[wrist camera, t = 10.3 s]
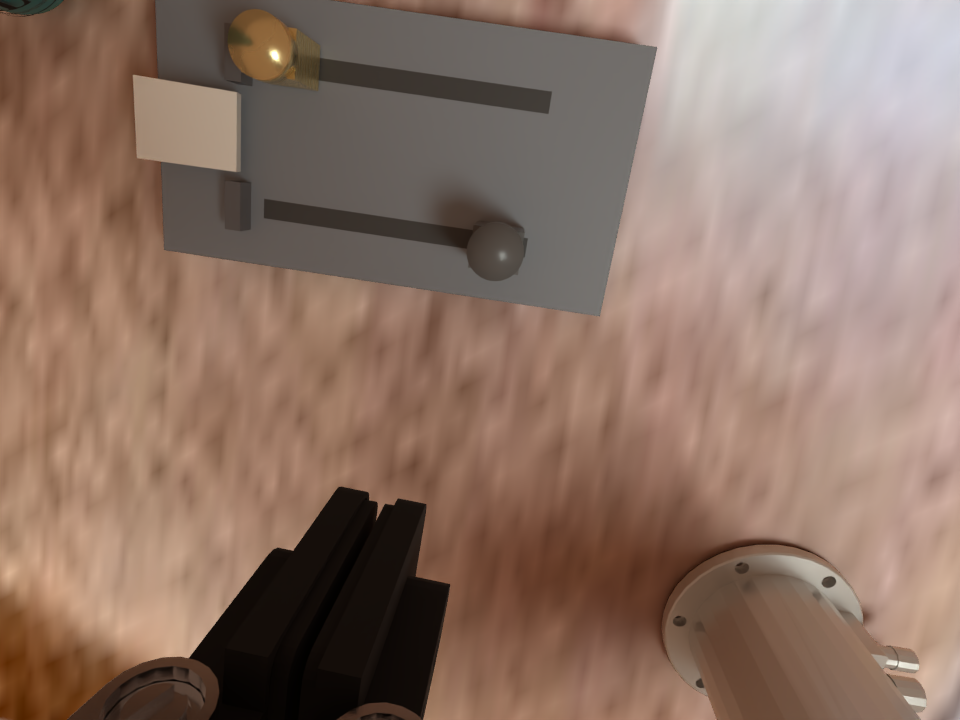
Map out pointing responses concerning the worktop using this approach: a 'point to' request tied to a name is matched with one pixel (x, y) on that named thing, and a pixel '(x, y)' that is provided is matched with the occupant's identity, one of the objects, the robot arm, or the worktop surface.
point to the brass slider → (273, 51)
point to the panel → (412, 149)
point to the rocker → (187, 124)
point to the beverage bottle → (28, 6)
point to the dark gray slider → (495, 250)
